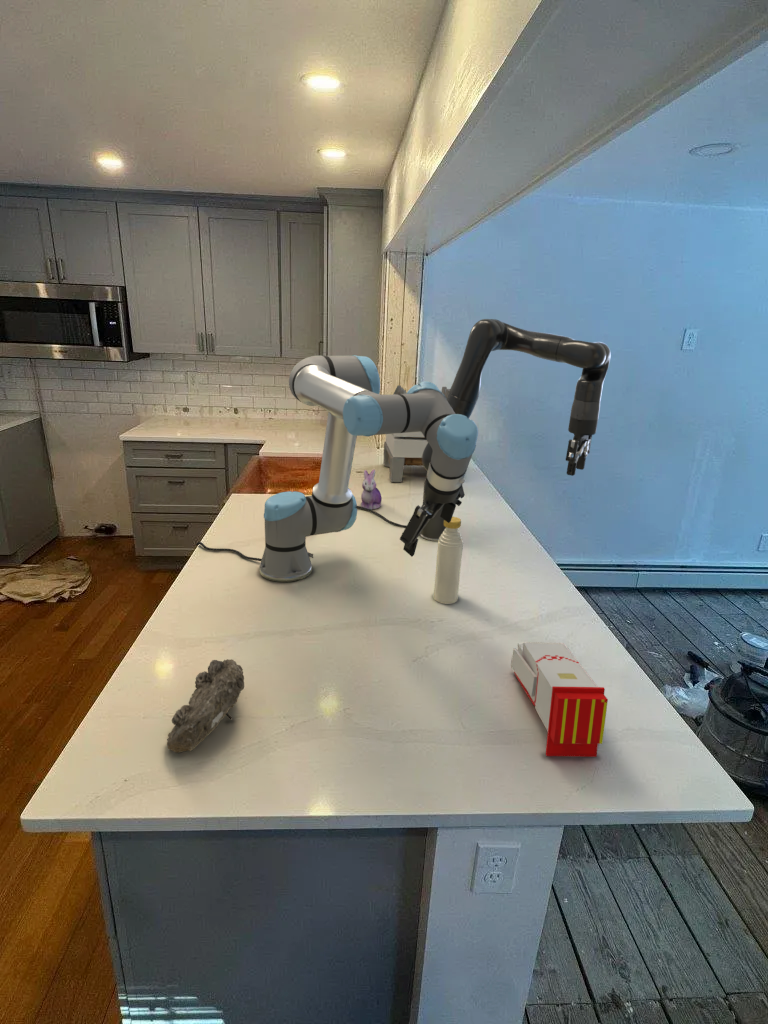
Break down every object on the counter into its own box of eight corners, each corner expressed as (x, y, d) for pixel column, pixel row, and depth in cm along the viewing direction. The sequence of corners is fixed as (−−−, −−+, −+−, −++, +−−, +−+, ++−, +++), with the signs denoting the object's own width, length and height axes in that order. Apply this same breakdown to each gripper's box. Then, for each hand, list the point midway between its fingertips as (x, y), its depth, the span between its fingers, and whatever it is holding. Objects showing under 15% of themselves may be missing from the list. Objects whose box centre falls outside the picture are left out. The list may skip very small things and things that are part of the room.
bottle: (455, 592, 160) (463, 516, 152) (459, 604, 154) (467, 525, 146) (432, 591, 160) (438, 516, 152) (434, 603, 154) (441, 525, 146)
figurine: (365, 511, 219) (366, 474, 214) (354, 503, 228) (355, 467, 223) (387, 509, 223) (388, 472, 218) (375, 501, 232) (377, 465, 227)
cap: (459, 522, 152) (459, 516, 151) (461, 529, 148) (462, 522, 147) (442, 522, 152) (443, 516, 151) (444, 528, 147) (445, 522, 147)
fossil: (192, 660, 117) (244, 628, 112) (224, 691, 120) (276, 661, 115) (142, 746, 98) (202, 712, 93) (182, 779, 101) (242, 748, 96)
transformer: (382, 463, 289) (386, 382, 275) (445, 464, 293) (451, 384, 279) (390, 482, 257) (394, 392, 243) (460, 483, 261) (468, 394, 247)
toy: (559, 625, 127) (617, 695, 97) (554, 680, 130) (608, 764, 100) (506, 624, 126) (547, 694, 97) (501, 679, 129) (540, 763, 100)
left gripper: (419, 524, 110) (404, 577, 127) (494, 458, 122) (471, 515, 139) (390, 501, 112) (380, 556, 129) (466, 438, 124) (447, 497, 141)
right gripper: (578, 411, 166) (570, 465, 172) (562, 417, 155) (554, 474, 161) (605, 415, 162) (595, 469, 168) (590, 421, 151) (580, 479, 157)
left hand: (427, 535), depth 134 cm, fingers open, 13 cm apart
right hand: (575, 472), depth 164 cm, fingers open, 8 cm apart
